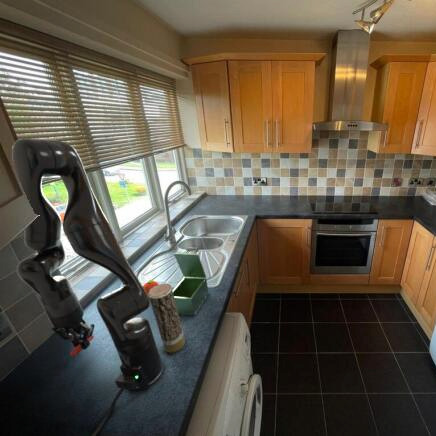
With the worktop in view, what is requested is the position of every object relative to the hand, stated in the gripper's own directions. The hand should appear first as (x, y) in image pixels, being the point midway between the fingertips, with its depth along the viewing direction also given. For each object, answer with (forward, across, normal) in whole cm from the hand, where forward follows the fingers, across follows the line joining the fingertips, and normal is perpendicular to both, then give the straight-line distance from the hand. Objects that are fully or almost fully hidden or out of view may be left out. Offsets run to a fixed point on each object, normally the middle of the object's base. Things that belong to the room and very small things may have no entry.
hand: (83, 347), depth 81 cm
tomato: (+4, +4, +32) cm, 32 cm away
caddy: (+4, +24, +27) cm, 37 cm away
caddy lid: (-12, +25, +32) cm, 42 cm away
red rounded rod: (0, 0, 0) cm, 0 cm away
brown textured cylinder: (+4, +29, +6) cm, 30 cm away
